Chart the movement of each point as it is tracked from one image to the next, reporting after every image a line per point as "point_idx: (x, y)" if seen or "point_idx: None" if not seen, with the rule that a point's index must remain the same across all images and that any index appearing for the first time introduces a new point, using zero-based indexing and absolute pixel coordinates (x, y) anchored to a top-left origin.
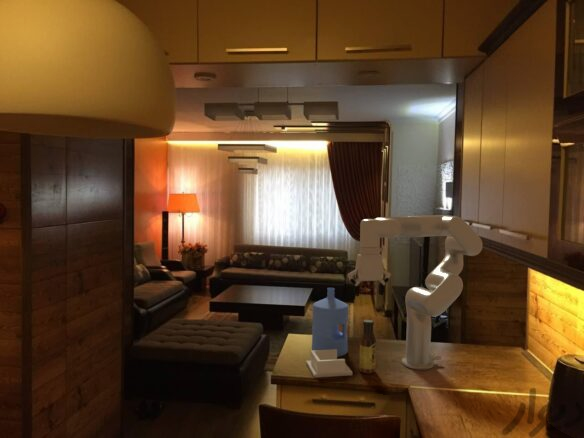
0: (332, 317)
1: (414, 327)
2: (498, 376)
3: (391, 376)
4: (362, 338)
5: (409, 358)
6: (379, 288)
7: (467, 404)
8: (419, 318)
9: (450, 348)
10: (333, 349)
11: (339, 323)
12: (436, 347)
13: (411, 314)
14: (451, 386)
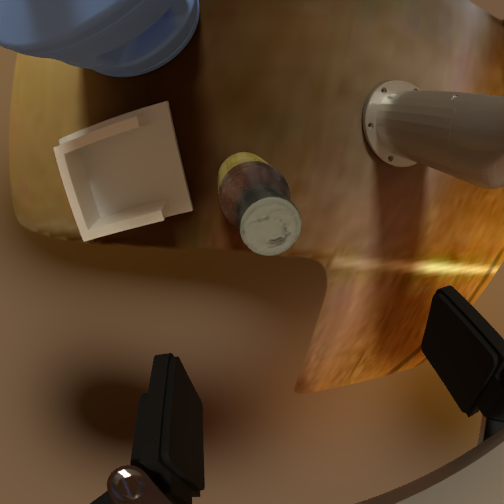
0: (76, 53)
1: (462, 174)
2: (497, 203)
3: (306, 207)
4: (228, 219)
5: (387, 139)
6: (462, 350)
7: (395, 319)
8: (500, 184)
9: (484, 42)
10: (125, 120)
11: (128, 40)
12: (463, 25)
13: (495, 169)
14: (412, 254)
